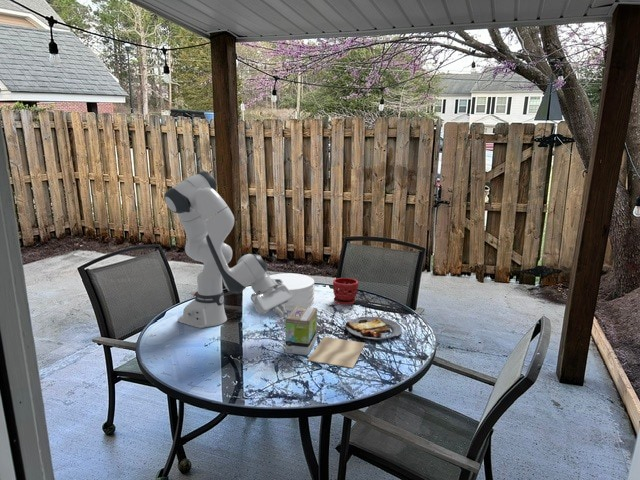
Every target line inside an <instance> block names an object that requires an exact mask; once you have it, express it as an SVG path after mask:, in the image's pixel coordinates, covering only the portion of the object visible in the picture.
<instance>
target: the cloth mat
mask: <svg viewBox="0 0 640 480" xmlns="http://www.w3.org/2000/svg"><path fill="white" fill-rule="evenodd" d="M365 346H366V342H361V341H355V340H350V339H349V340H348V339H341V338H335V337H334V338H333V337H328V336H324V337H323V338H322V339H321V341H319V344H317V346H316V347H315V349H314V351H313V352H312V353H311V355H310V356H309V357H308V359H307V361H308V362H314V363H319V364H325V365H330V366H338V367H342V368H348V369H349V368H350V369H354V367H355V365H356V363H357V361H358V359H359V357H360V355H361V353H362V351H363V349H364V347H365Z"/></svg>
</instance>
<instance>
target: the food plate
mask: <svg viewBox="0 0 640 480" xmlns="http://www.w3.org/2000/svg"><path fill="white" fill-rule="evenodd" d="M345 329H346V330H347V331H348V333H349V334H352V336H357V337H359V338H361V339H366V340H371V339H372V340H386V339H389V338H393V337H398V336H400V335H401V334H402V331H403V329H402V326H401V324H399V323H398V322H395V320H392V319H389V318H385V317H380V316H370V315H368V316H367V315H366V316H360V317H357V318H352V319H350V320H349V321H347V322H346V323H345ZM388 333H390V334H388Z"/></svg>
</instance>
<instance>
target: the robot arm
mask: <svg viewBox="0 0 640 480" xmlns="http://www.w3.org/2000/svg"><path fill="white" fill-rule="evenodd" d="M217 190H218V185H217V180H216V179H215V177H214V175H212V174H211V173H210V172H208V171H205V170H204V171H199V172H197V173H196V174H194V175H191V176H189V177H187V178H184V179H183V181H180V182H178V183H177V184H176V185H175V186H173V187H170V188H169V189H168V190H167V191H166V192H165V193H164V199H163V200H164V203H165V204H166V206H167V207H168V209H170V212H172V213H175V214H177V216H178V219H179V221H180V223H181V225H182V228H183V230H184V232H185V234H186V240H187V241H186V243H185V246H184V252H185V255H187V257H189V258H190V259H192V260H193V261H196V262H201V263H203V269H202V271H200V273H198V275H197V276H196V277H197V278H196V280H197V282H196V283H197V291H196V292H195V293H193V294H192V295H193V296H192V297H193V298H194V299H193V300H191V301H190V303H188V304H186V305H185V307H184V308H183V312H182V315H180V316H179V318H178V319H177V320H178V323H182V324H185V325H189V326H192V327H196V328H198V329H203V328H208V327H209V328H210V327H215V326H219V325H223V324H224V323H226V322H227V320H228V318H227V313H226V311H225V306H224V305H225V304H224V301H225V298H224V297H225V295H224V290H223V285H224V287H225V288H226V290H227V291H228V292H229V293H233V294H240V293H242V292H243V291H244V290H245V289H246V288H247V287H249V286H250V287H251V289H252V291H253V292H254V293H252V294H251V296H250V300H251V302H252V304H253V307H254V308H255V310H256V312H257V313H258V314H259V315H261V316H263V315H264V314H267V313H269V312H271V311H273V312H274V313H276V314H277V315H279V317H280V318H283V317H284V316H285V315H287V314H288V311H286V310H285V306H284V304H285V303H287V302H289V301H290V300H291V299H292V294H291V292H290V291H289V289H288V288H287V287H286V286H285V285H284V284H282V283H283V281H282V280H281V279H271V278H270V277H269V276H270V275H269V274H267V271H268V266H269V265H268V264H267V263H266V262H265V261H264V259H263V258H262V256H261V255H260V254H256V253H255V254H254V253H247V254H243V255H242V256H241V257H240V258H239V259H238V260H237V263H236V265H234V266H233V267H229V265H228V264H229V263H230V262H231V260H232V258H233V249H232V247H231V246H230V245H229V244H227V243H225V240H226V238H227V237H228V235H230V233H231V231H232V230H233V228H234V226H235V215H234V214H233V212H232V210H231V208H230V207H229V206H228V204H227V203H226V201H225V200H224V199H223V197H222V196H221V195H220V194H219V193H218V192H217ZM278 308H279V309H278ZM280 309H281V310H280Z"/></svg>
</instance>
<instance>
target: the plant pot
mask: <svg viewBox="0 0 640 480" xmlns="http://www.w3.org/2000/svg"><path fill="white" fill-rule="evenodd" d="M332 286H333V287H332V291H333V295H334V298H333V301H334V303H336V304H338V305H341V306H351V305H354V303H356V301H357V299H356V297H357V294H358V290H359V281H358V280H357V279H355V278H351V277H350V278H349V277H338V278H335V279H333V281H332Z"/></svg>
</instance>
